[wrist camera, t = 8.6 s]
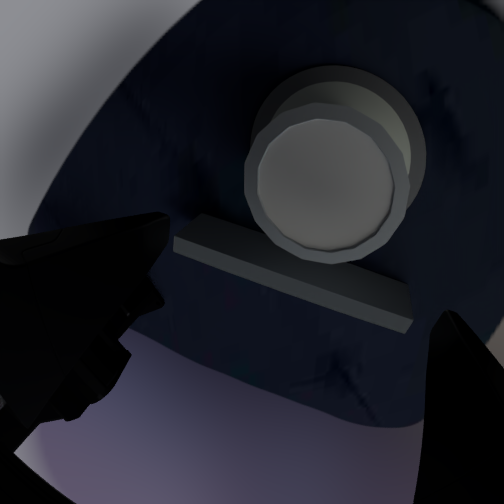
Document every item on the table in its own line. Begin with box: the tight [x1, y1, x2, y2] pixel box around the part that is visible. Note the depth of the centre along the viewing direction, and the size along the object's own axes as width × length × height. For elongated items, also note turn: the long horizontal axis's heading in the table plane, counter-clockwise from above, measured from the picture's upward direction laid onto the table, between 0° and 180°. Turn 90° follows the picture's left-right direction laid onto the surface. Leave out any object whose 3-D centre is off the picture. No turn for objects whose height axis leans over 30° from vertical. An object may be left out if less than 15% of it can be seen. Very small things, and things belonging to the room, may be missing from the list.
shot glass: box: [244, 102, 410, 264], centre depth 15 cm, size 7×7×7 cm
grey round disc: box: [250, 65, 426, 209], centre depth 18 cm, size 11×11×1 cm
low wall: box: [173, 213, 413, 334], centre depth 21 cm, size 16×1×4 cm, turn 77°
